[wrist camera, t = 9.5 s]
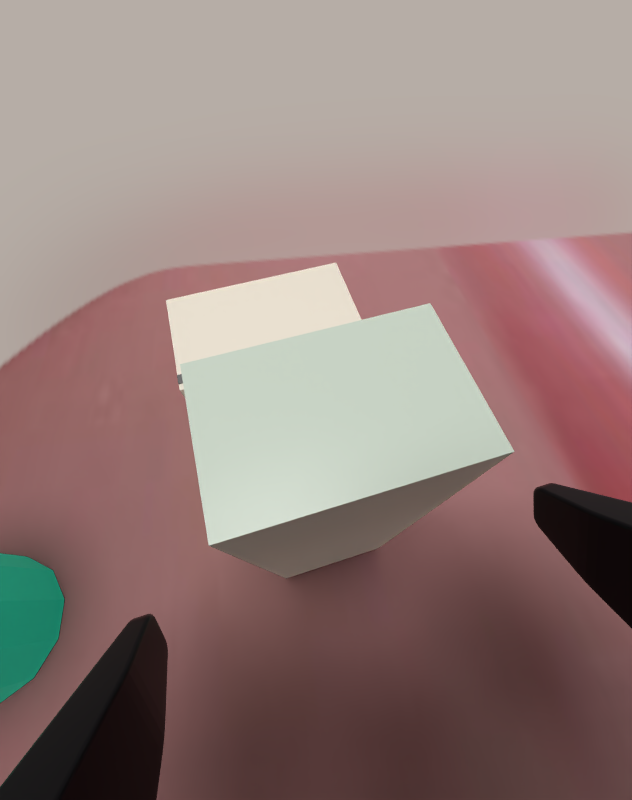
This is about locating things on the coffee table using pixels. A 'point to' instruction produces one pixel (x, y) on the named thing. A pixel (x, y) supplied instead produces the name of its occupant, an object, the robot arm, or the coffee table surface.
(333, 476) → the pale green upright box
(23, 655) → the candle
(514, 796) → the coffee table surface
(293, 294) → the block
